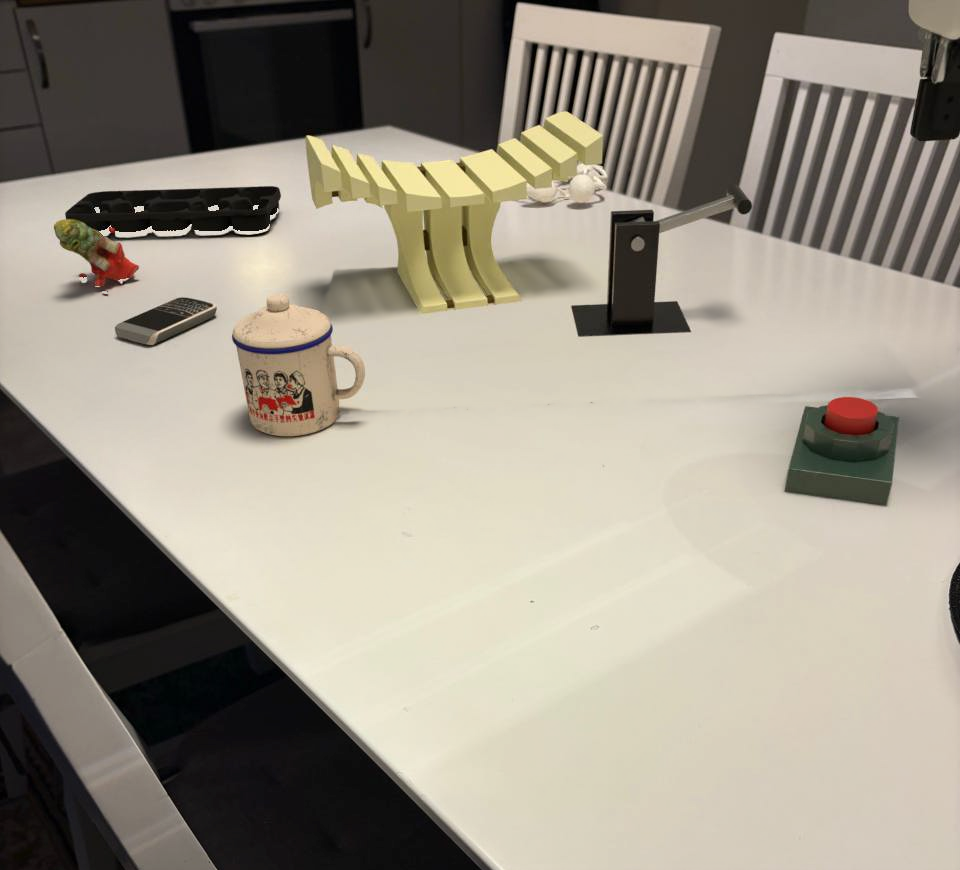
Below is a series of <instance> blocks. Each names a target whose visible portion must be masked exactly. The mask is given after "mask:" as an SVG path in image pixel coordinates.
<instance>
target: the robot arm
mask: <svg viewBox="0 0 960 870" xmlns="http://www.w3.org/2000/svg"><path fill="white" fill-rule="evenodd" d="M908 15H909V18H910V20H912V22H913V23H914V24H915V25H917V26H918V29H917V37H918V40H920V42H921V44H922V49H921V57H920V64H919V65H920V66H919V76H920V78H919V82H918V87H917V92H916V98H915V103H914V109H913V113H912V119H911V124H910V125H911V126H910V130H909V135H910V136H911V137H912V138H914V139H916V140H917V141H918V142H936V141H951V140H956V139H958V137H959V136H960V0H908Z"/></svg>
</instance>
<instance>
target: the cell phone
mask: <svg viewBox="0 0 960 870" xmlns="http://www.w3.org/2000/svg"><path fill="white" fill-rule="evenodd" d="M217 309H218V307H217V305H216V304H214V303H211V302H208V301H204V300H201V299H200V300H199V299H196V298H191V297H183V296H182V297H176V298H173V299H172V300H169V301H167V302H165V303H163V304H160V305H158V306H156V307H153V308H150V309H148V310H146V311H144V312H142V313H139V314H137V315H135V316H132V317H130V318H128V319H125V320H123V321H121V322H119V323H117V324H116V325H115V326H114V332H115V335H116V336H117V337H118V338H121V339H125V340H128V341H132V342H135V343H139V344H143V345H147V346H151V345H152V346H154V345H156V344H158V342H159V343H161V342H163V341H165V340H167V339H169V338H172V337H174V336H176V335H178V334H180V333H182V332H184V331H187V330H188V329H191V328H193V327H195V326H197V325H199V324H202V323H204V322H206V321H209V320H210V319H212V318H214V317H215V316H216V314H217ZM186 329H187V330H186ZM175 334H176V335H175ZM173 335H174V336H173ZM171 336H172V337H171ZM162 340H163V341H162ZM160 341H161V342H160Z"/></svg>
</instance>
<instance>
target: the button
mask: <svg viewBox="0 0 960 870" xmlns="http://www.w3.org/2000/svg"><path fill="white" fill-rule="evenodd" d="M826 405H827V411H826V416H825V422H824V425H825V427H826V428H827V429H830V430H832V431H835V432H837V433H840V434H848V435H864V434H870V433H872V432H873V431H874V428H875V423H876V419H877V414H878V411H879V407H878V406H877V405H876V404H875V403H874V402H872V401H870V400H868V399H865V398H862V397H856V396H841V397H840V396H839V397H836V398H833V399H831V400H830V401H829V402H828V403H827V404H826Z"/></svg>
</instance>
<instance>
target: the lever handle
mask: <svg viewBox="0 0 960 870" xmlns="http://www.w3.org/2000/svg"><path fill="white" fill-rule="evenodd" d="M752 208H753V203H752V201H751V200H750V199H749V197H748V196H747V195H746V193H745V192H744V191H743V190H742V188H741V187H740V186H739V185H737V184H732V185H730V186H729V187H728V188H727V190H726V196H725V197H722V198H719V199H716V200H713V201H710V202H707V203H704V204H701V205H699V206H696V207H692V208H690V209H687V210H684V211H681V212H678V213H675V214H673V215H670V216H665V217H663V218H660V219H657V220H656V221H659V223H660V230H659V234H662V233H664V232H665V233H666V232H669V231H671V230H673V229H677V228H680V227H682V226H686V225H688V224H691V223H694V222H696V221H700V220H703V219H706V218H708V217H711V216H715V215H717V214H720V213H723V212H726V211H729V210H732V209H736V210H737V212H738V213H739V214H740V215H747V214H749V213H750V212H751V211H752ZM629 222H645V220H644V218H643V217H640V218H637V219H634V220H631V221H629Z"/></svg>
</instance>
